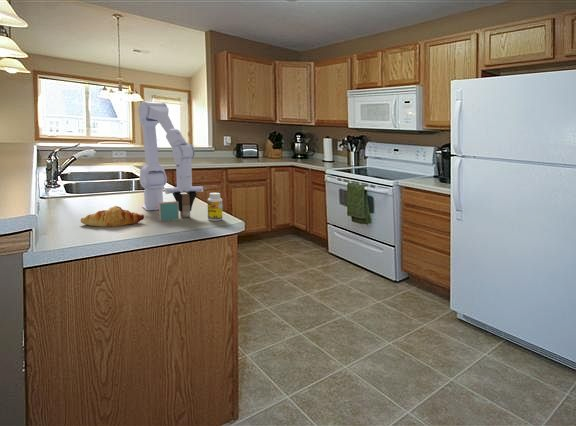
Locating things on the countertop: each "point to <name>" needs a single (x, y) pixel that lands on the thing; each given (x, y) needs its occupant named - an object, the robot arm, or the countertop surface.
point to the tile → (168, 211)
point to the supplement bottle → (215, 207)
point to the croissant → (112, 218)
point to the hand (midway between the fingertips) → (185, 210)
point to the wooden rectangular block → (185, 206)
